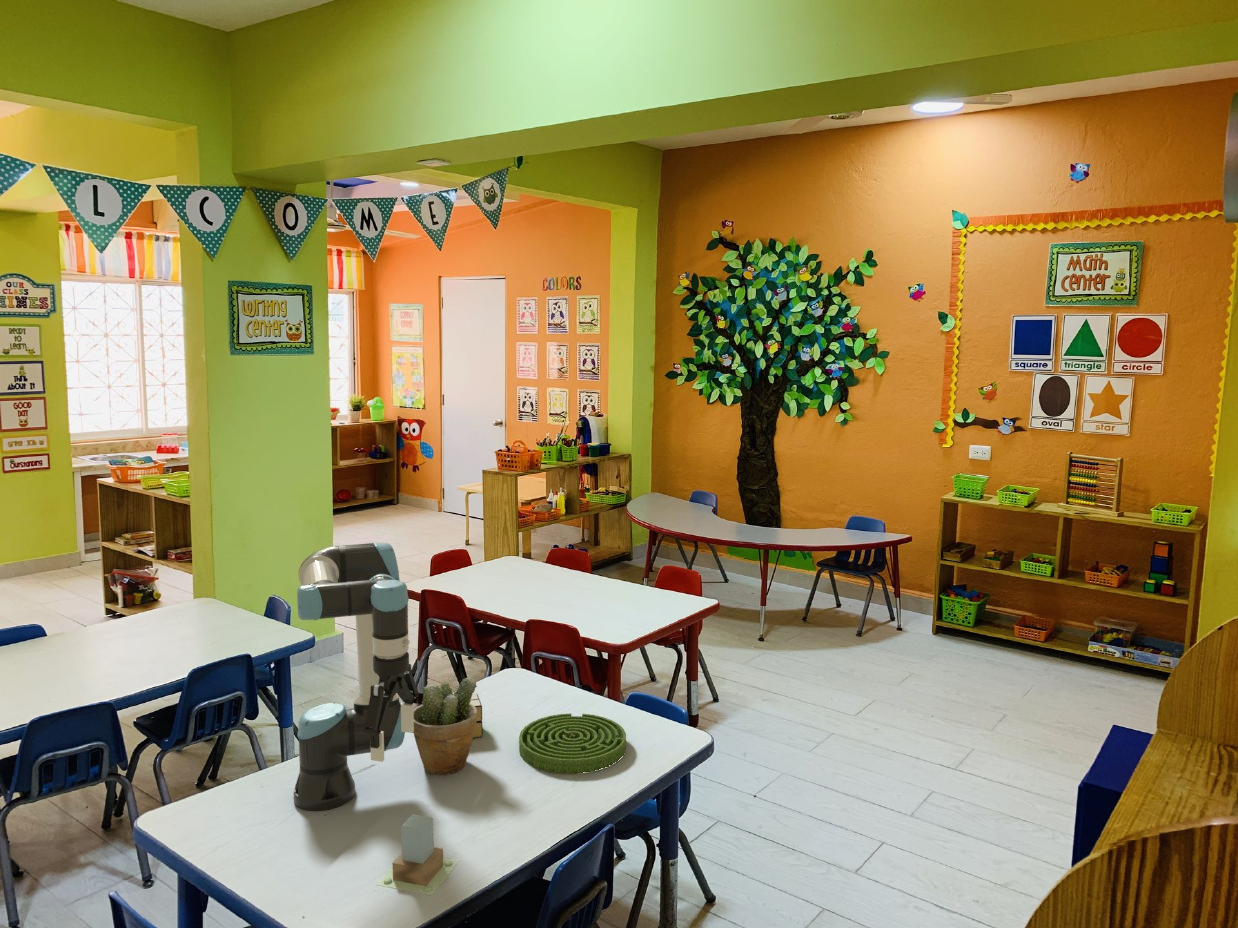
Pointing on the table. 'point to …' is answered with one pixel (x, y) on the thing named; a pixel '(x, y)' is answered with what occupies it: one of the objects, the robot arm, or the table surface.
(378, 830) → the table surface
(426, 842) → the column brick
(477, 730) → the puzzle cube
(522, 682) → the table surface
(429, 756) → the potted plant
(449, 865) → the plate
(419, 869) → the base brick
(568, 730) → the maze
